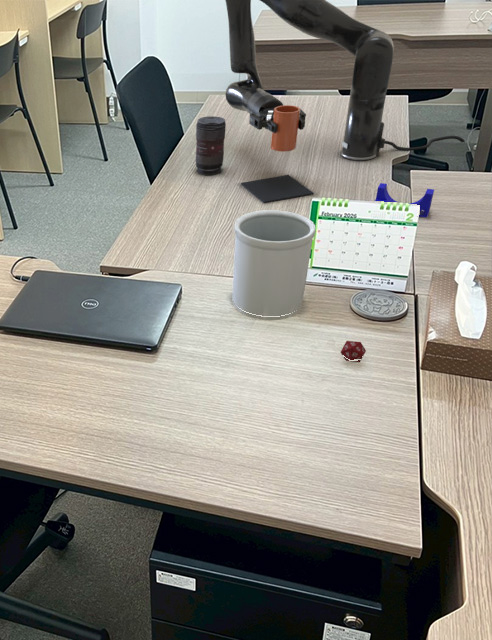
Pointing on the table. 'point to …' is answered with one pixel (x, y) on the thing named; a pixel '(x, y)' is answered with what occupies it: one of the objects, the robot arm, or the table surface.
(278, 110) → the cup
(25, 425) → the table surface
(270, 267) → the utensil holder
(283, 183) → the desk mat
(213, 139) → the camera lens
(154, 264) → the table surface
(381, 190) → the blue cradle bracket
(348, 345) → the dice
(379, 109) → the robot arm
